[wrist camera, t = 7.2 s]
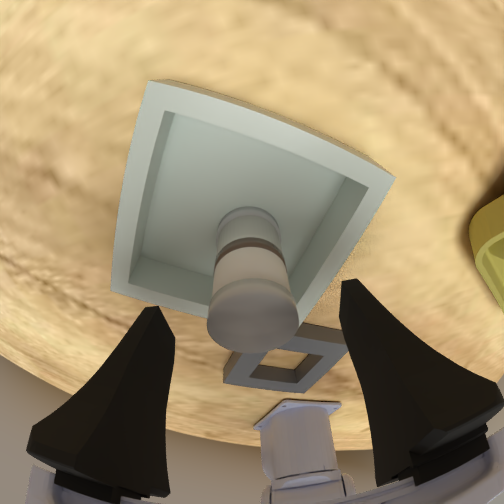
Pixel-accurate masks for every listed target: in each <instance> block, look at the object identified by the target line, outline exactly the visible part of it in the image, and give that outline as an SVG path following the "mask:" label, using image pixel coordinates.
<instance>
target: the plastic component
mask: <svg viewBox="0 0 504 504" xmlns="http://www.w3.org/2000/svg"><path fill="white" fill-rule="evenodd" d="M469 238H470V242H471V246H472V251H473V255H474V260H475V264H476V268H477V269H478V271H479V272H480V274H481V275H482V277H483V279H484V280H485V282H486V283H487V285H488V287H489V288H490V290H491V292H492V293H493V295H494V297H495V299H496V300H497V302H498V304H499V306H500V308H501V309H502V311H503V313H504V195H502V196H500V197H499V198H497V199H496V200H494V201H492V202H491V203H489V204H487V205H486V206H484V207H482V208H481V209H480V210H479V211H478V212H477V213H476V214H475V215H474V217H473V218H472V220H471V222H470V225H469Z"/></svg>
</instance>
